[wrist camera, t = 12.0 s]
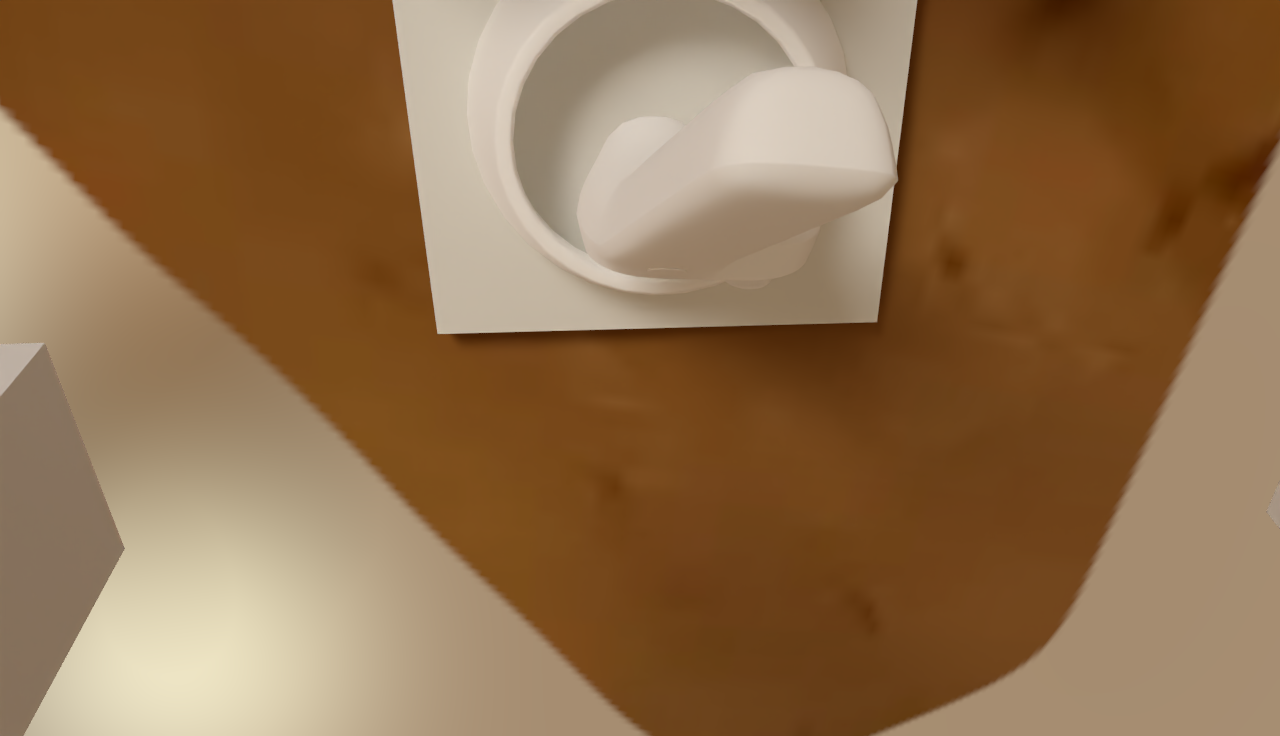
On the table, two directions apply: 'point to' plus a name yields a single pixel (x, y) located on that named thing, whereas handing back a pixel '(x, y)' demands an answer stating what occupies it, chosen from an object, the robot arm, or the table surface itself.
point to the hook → (694, 159)
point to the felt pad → (574, 135)
